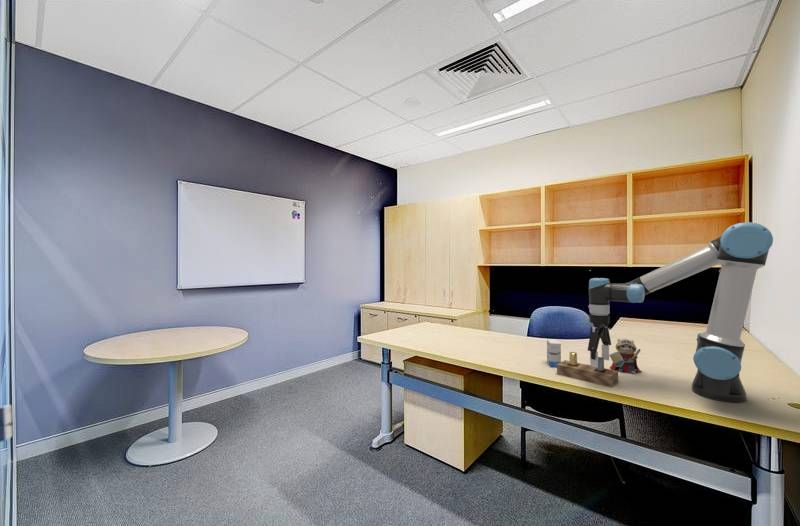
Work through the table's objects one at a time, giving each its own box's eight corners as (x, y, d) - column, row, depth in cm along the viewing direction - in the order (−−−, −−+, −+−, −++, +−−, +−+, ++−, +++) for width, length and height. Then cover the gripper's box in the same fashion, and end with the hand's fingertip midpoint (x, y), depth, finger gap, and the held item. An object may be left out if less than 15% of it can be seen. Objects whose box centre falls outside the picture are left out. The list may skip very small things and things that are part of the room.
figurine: (606, 371, 156) (606, 339, 156) (611, 365, 164) (611, 334, 164) (640, 377, 147) (640, 343, 147) (644, 370, 155) (643, 338, 155)
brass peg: (578, 374, 152) (578, 352, 152) (575, 376, 150) (575, 354, 150) (571, 373, 154) (571, 351, 154) (568, 374, 152) (568, 352, 152)
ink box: (561, 367, 162) (561, 343, 162) (550, 367, 163) (550, 343, 163) (557, 362, 170) (556, 339, 170) (546, 361, 171) (546, 339, 171)
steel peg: (605, 380, 144) (604, 357, 144) (602, 382, 142) (602, 359, 142) (597, 379, 146) (597, 356, 146) (595, 380, 144) (594, 357, 144)
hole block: (618, 381, 143) (618, 371, 142) (611, 387, 137) (611, 376, 137) (565, 369, 159) (565, 360, 159) (557, 374, 153) (556, 364, 153)
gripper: (599, 309, 154) (600, 355, 155) (578, 316, 138) (579, 367, 138) (618, 311, 149) (619, 358, 149) (598, 318, 132) (599, 372, 133)
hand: (600, 363), depth 144 cm, fingers open, 13 cm apart
